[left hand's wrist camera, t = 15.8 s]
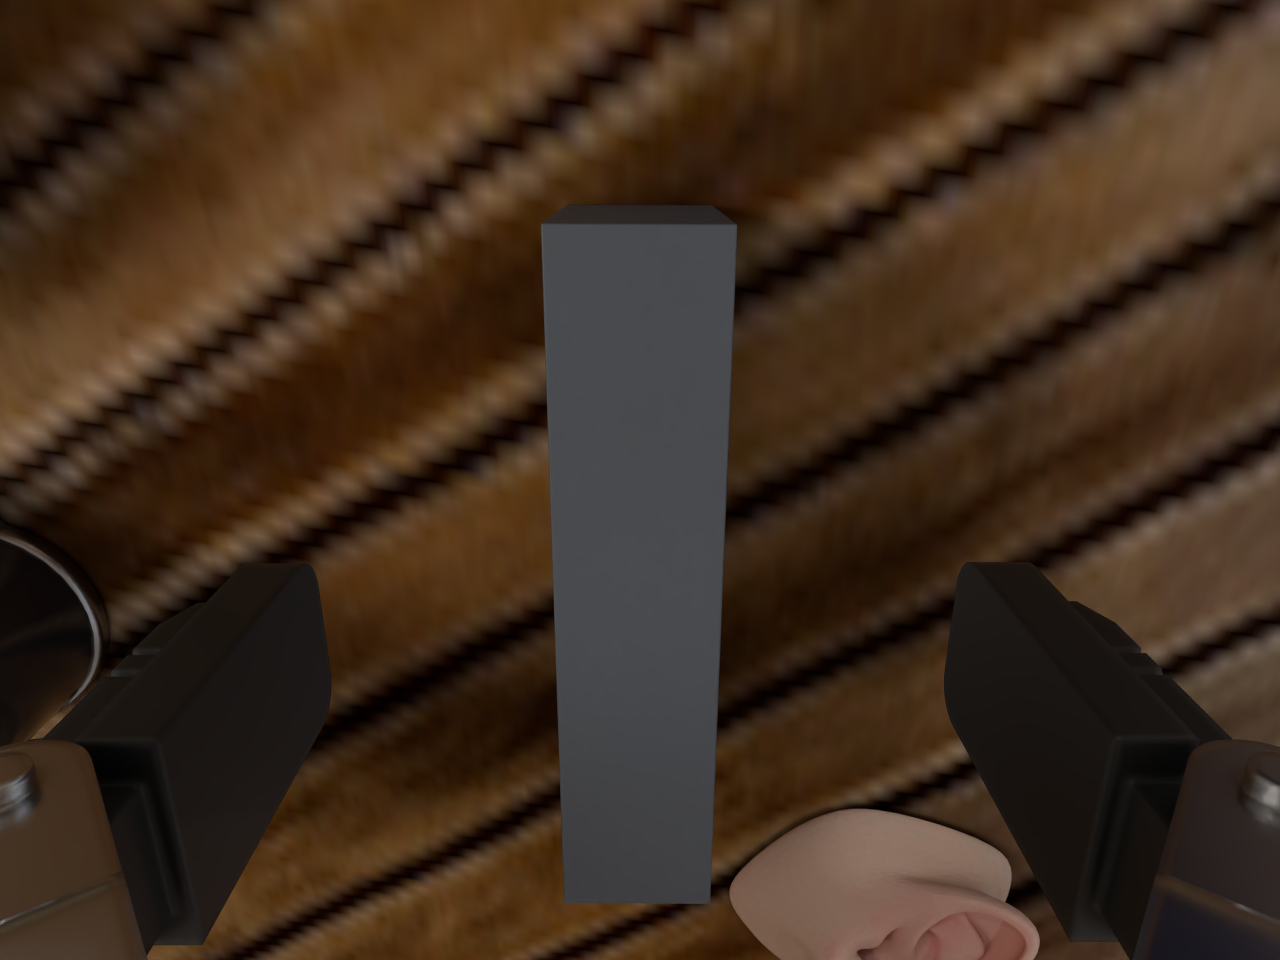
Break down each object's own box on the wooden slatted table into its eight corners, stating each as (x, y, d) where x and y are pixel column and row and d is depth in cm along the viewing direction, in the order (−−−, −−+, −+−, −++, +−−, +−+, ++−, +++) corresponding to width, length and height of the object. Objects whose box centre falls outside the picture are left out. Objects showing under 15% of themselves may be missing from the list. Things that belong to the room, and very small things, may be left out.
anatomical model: (703, 991, 42) (838, 822, 38) (698, 922, 46) (820, 762, 42) (932, 1086, 44) (1079, 934, 41) (909, 1013, 48) (1042, 868, 44)
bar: (567, 204, 33) (540, 223, 25) (712, 205, 33) (737, 224, 25) (580, 747, 42) (564, 903, 33) (695, 747, 42) (709, 904, 33)
